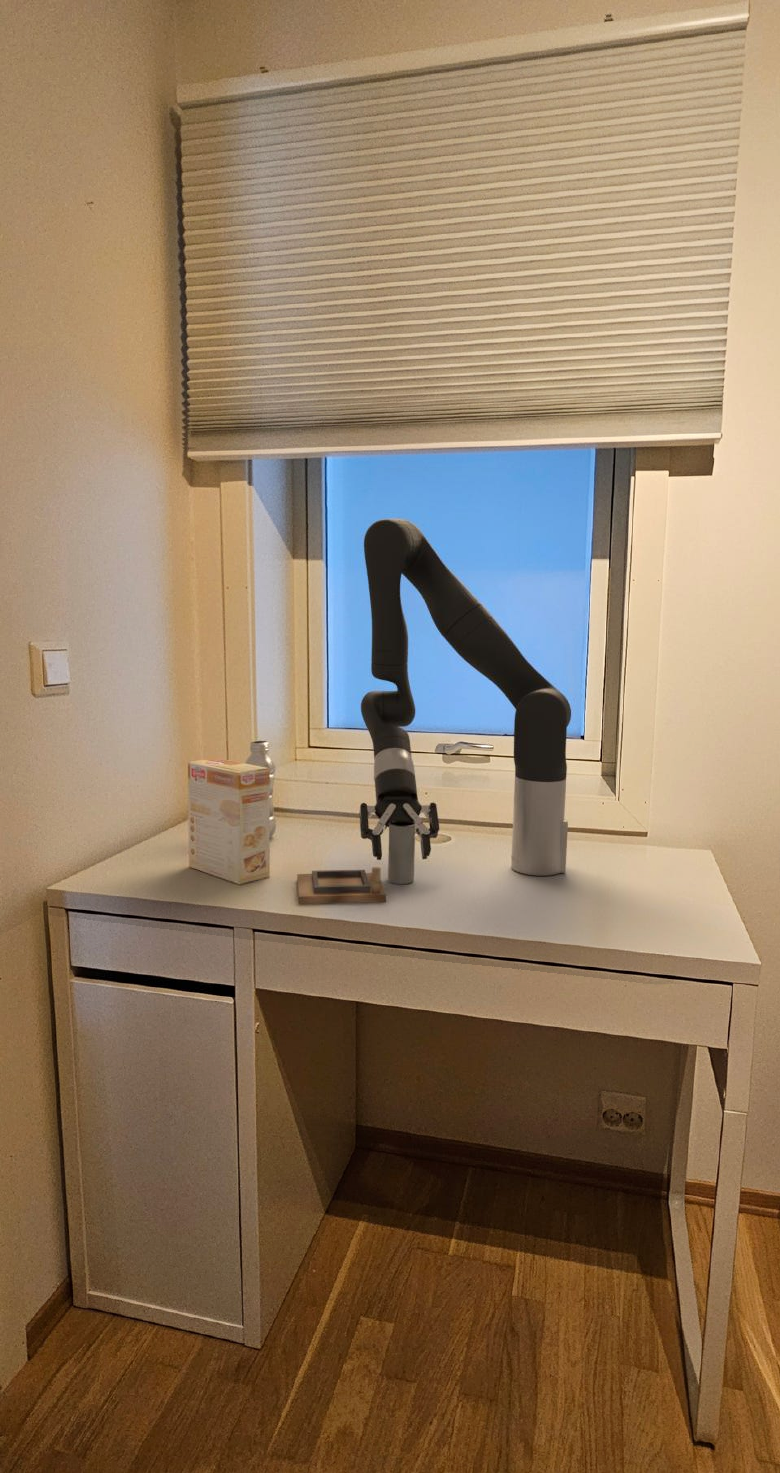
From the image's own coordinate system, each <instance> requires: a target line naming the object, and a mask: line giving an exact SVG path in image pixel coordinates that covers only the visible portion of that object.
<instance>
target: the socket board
mask: <svg viewBox="0 0 780 1473" xmlns="http://www.w3.org/2000/svg"><path fill="white" fill-rule="evenodd" d="M381 870H382V868H381V867H380V866H372V868H371V872H366V870H365V869H335V870H334V869H333V870H332V869H331V870H328V869H327V870H325V869H324V870H323V869H322V870H311V873H297V875H296V876H297V878H296V883H297V895H298V896H297V897H298V905H306V904H307V905H308V904H309V903H311V904H312V903H315V904H348V903H349V904H350V903H351V904H352V903H355V902H357V903H383V902H384V903H386V902H387V893H386V891H385V888H384V885H383V882H382V881H381V880H382V879H381V876H382V875H381V874H382V873H381V872H382V871H381ZM311 904H310V905H311Z"/></svg>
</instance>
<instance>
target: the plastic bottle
mask: <svg viewBox="0 0 780 1473" xmlns="http://www.w3.org/2000/svg"><path fill="white" fill-rule="evenodd" d="M269 744H270V742H269V741H267V740H254V741H253V740H252V741H250V748H249V751H250V752H251V754H250V755H249V756H248V757H247V759H245V762H244V763H245V764H250V765H255V766H261V767H266V768H270V838H271V837H273V836H274V834H275V832H276V829H277V828H276V827H277V824H276V816H275V812H274V802H273V801H274V800H273V798H274V795H273V793H274V782H275V776H276V765H275V762H274V760H273V758H272V757H271V756H270V755H269V752H270V748H269Z"/></svg>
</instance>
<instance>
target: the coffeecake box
mask: <svg viewBox="0 0 780 1473" xmlns="http://www.w3.org/2000/svg"><path fill="white" fill-rule="evenodd" d="M187 787H188V789H187V792H188V793H187V794H188V797H187V798H188V799H187V800H188V801H187V804H188V867H189V868H192V869H194V870H197V871H201V872H203V873H206V874H209V875H211V876H215V877H217V878H220V879H222V880H226V881H227V882H231V883H235V884H237V885H243V884H247V883H250V882H254V881H258V880H263V879H267V878H270V877H271V875H270V874H271V872H270V871H271V870H270V868H271V867H270V866H271V865H270V861H271V860H270V858H271V857H270V852H271V851H270V850H271V849H270V848H271V847H270V846H271V844H270V843H271V842H270V838H271V837H270V768H266V767H261V766H255V765H250V764H245V762H241V761H240V762H238V761H235V760H234V761H233V760H228V759H223V758H218V757H216V758H214V757H213V758H207V759H200V760H192V761H188V762H187Z"/></svg>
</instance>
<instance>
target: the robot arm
mask: <svg viewBox="0 0 780 1473" xmlns="http://www.w3.org/2000/svg"><path fill="white" fill-rule="evenodd" d="M363 551H364V562H365V567H366V575H367V583H368V592H369V594H368V595H369V600H370V601H369V602H370V613H371V658H370V659H371V665H370V666H371V667H370V670H371V671H370V672H371V676H373V677H374V678H375V679H377V680H380V681H384V682H385V681H386V682H389V683H393V685H395V686H396V690H372V691H369V692H367V693H366V694H365V695H364V696H363V697H362V700H361V703H360V712H361V717H362V719H363V722H364V724H365V726H366V729H367V731H368V733H369V735H370V738H371V741H372V747H373V748H372V749H373V758H374V763H373V781H374V789H375V790H374V791H375V800H376V802H375V804H374V805H368V804H367V803H366V802H362V803H360V807H359V813H358V814H359V825H360V827H359V828H360V837H361V838H362V839H363V840H365V839H368V840H370V841H371V848H372V850H371V851H372V856H373V857H375V858H376V860H377V861H381V860H382V856H383V848H382V837H381V836H382V835H383V834H384V833H385V831H386V830H387V829H388V828H389V823H390V822H391V821H395V820H408V821H412V822H414V823H415V835H417V836H418V838H420V842H419V843H420V849H421V850H420V851H421V858H422V860H428V857H430V855H431V852H432V851H431V850H432V847H431V846H432V845H431V839H436V838H438V835H439V832H440V822H439V814H438V807H437V806H438V805H437V804H436V803H435V802H431V803H430V804H429V805H428V804H425V805H423V804H421V803H420V801H419V798H418V791H417V790H418V788H417V781H416V772H415V765H414V761H413V758H412V749H411V748H412V747H411V739H410V736H409V733H408V732H407V731H406V729H404V727H408V726H409V725H411V724H412V722H413V721H414V719H415V717H416V704H415V701H414V697H413V693H412V690H411V689H412V688H411V685H410V679H409V669H408V665H409V664H408V662H409V660H408V659H409V635H408V634H409V633H408V625H407V622H406V619H405V615H404V610H403V606H402V605H403V604H402V598H401V580H402V575H403V577H405V579H407V580H408V581H409V582H410V583H411V585H413V587H414V588H415V589H416V591H417V592H418V593H419V594H420V596H421V597H422V599H423V601H424V603H425V605H426V607H427V610H428V612H429V614H430V617H431V619H432V621H433V623H434V626H435V627H436V629H437V630H438V632H439V633H440V635H441V636H442V637H443V638H444V639H445V640H446V641H447V643H448V644H449V645H450V646H451V648H452V649H453V650H454V651H455V652H456V653H457V655H459V656H460V657H461V658H462V660H464V661H465V662H466V663H467V664H469V665H470V666H471V667H472V668H474V670H476V671H477V672H479V673H480V674H481V675H482V676H484V677H485V678H487V679H488V680H489V681H491V682H492V683H493V684H494V685H495V686H496V687H497V688H498V689H499V690H500V691H501V692H502V694H503V695H505V697H506V698H507V700H508V701H509V702H510V703H511V705H512V706H513V707H514V709H515V713H514V720H513V721H514V723H513V725H514V726H513V727H514V728H513V763H514V792H513V813H512V814H513V817H512V836H511V837H512V841H511V866H510V867H511V869H512V870H513V871H515V872H516V873H517V872H518V873H520V874H525V875H528V876H529V875H530V876H541V877H543V876H553V875H554V876H555V875H558V874H560V873H563V874H565V873H566V871H567V870H566V869H567V852H568V851H567V848H568V831H569V830H568V829H569V822H568V821H567V819H565V812H566V811H565V810H566V791H567V790H566V788H567V776H568V775H567V772H568V770H567V769H568V764H567V754H566V752H567V733H568V732H567V731H568V726H569V725H570V722H571V718H572V708H571V704H570V703H569V701H568V698H566V696H565V695H564V694H563V693H562V692H561V691H560V690H559V689H557V688H556V687H555V686H554V685H553V684H552V683H550V682H549V681H548V679H546V678H545V677H544V676H543V675H542V674H541V673H540V672H539V671H538V670H537V669H536V668H535V667H534V666H533V665H532V664H531V663H530V662H529V660H527V659H526V657H525V656H524V655H523V653H522V652H521V651H520V649H519V648H518V647H517V646H516V644H515V642H514V641H513V640H512V639H511V637H510V636H509V635H508V633H507V632H506V630H504V629H503V628H502V626H501V625H500V623H499V622H498V621H497V620H496V619H495V617H494V616H493V615H492V614H491V613H490V611H488V609H487V608H486V607H485V606H484V605H483V604H482V602H481V601H479V599H477V598H476V597H475V595H473V594H472V593H471V591H470V590H469V589H468V588H467V587H466V585H465V584H464V583H463V582H462V581H461V580H460V579H459V578H458V577H457V576H456V575H455V574H454V573H453V572H452V571H451V570H450V568H448V567H447V565H446V564H445V563H444V561H443V560H442V558H441V557H440V556H439V555H438V553H437V552H436V550H435V549H434V548H433V546H432V544H431V543H430V542H429V540H428V539H427V537H426V536H425V534H423V532H422V531H421V529H420V528H419V527H418V526H417V525H416V524H414V523H413V522H411V520H407V519H404V518H383V519H378V520H376V521H374V522H373V523H371V524H370V526H369V527H368V529H367V530H366V532H365V535H364V539H363ZM421 813H422V814H423V815H424V816H425V818H426V819H428V824H429V828H428V827H427V826H426V825H425V823H424V822H423V820H422V818H421V817H420V815H421ZM372 814H374V815H375V816H376V817H377V818H378V819H379V820H378V822H377V824H376V825H375V827H374V828H370V827H369V826H370V825H369V819H371V817H372Z"/></svg>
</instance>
